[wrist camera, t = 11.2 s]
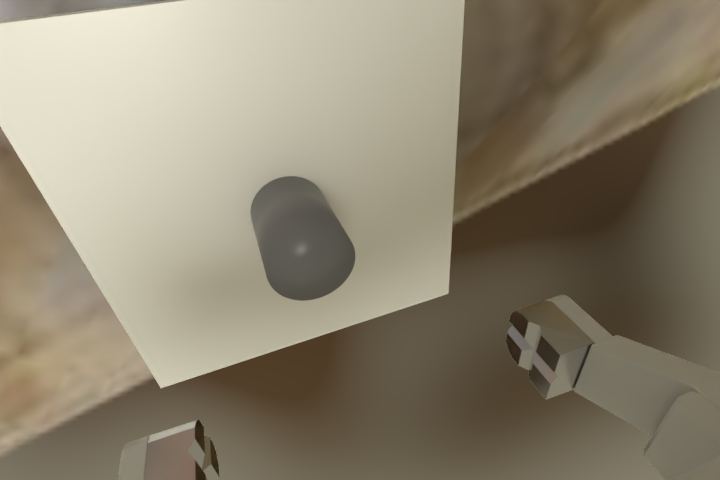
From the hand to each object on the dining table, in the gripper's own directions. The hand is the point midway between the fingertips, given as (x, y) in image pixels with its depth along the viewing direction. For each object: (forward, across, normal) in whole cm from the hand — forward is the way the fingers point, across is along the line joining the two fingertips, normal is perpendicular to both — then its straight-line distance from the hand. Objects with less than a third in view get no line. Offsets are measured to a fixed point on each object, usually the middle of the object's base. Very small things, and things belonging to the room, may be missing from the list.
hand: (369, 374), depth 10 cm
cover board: (+10, 0, 0) cm, 10 cm away
